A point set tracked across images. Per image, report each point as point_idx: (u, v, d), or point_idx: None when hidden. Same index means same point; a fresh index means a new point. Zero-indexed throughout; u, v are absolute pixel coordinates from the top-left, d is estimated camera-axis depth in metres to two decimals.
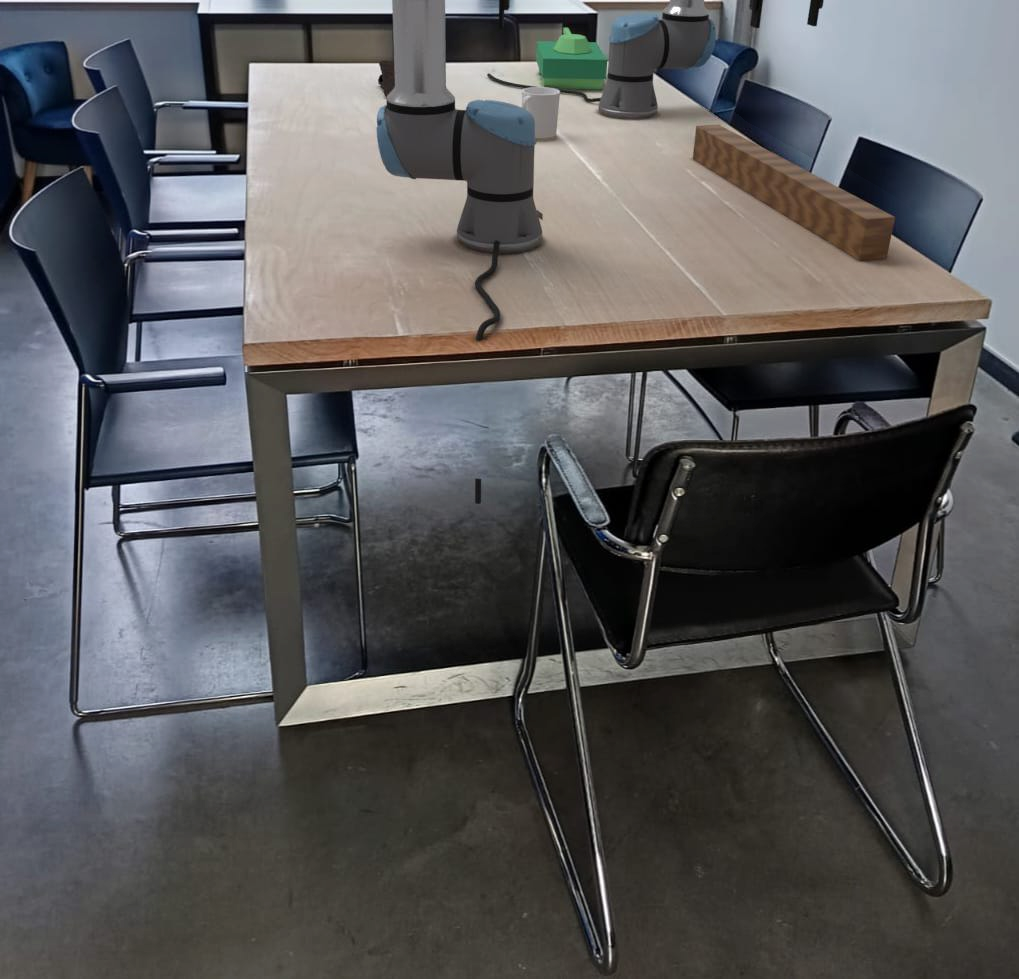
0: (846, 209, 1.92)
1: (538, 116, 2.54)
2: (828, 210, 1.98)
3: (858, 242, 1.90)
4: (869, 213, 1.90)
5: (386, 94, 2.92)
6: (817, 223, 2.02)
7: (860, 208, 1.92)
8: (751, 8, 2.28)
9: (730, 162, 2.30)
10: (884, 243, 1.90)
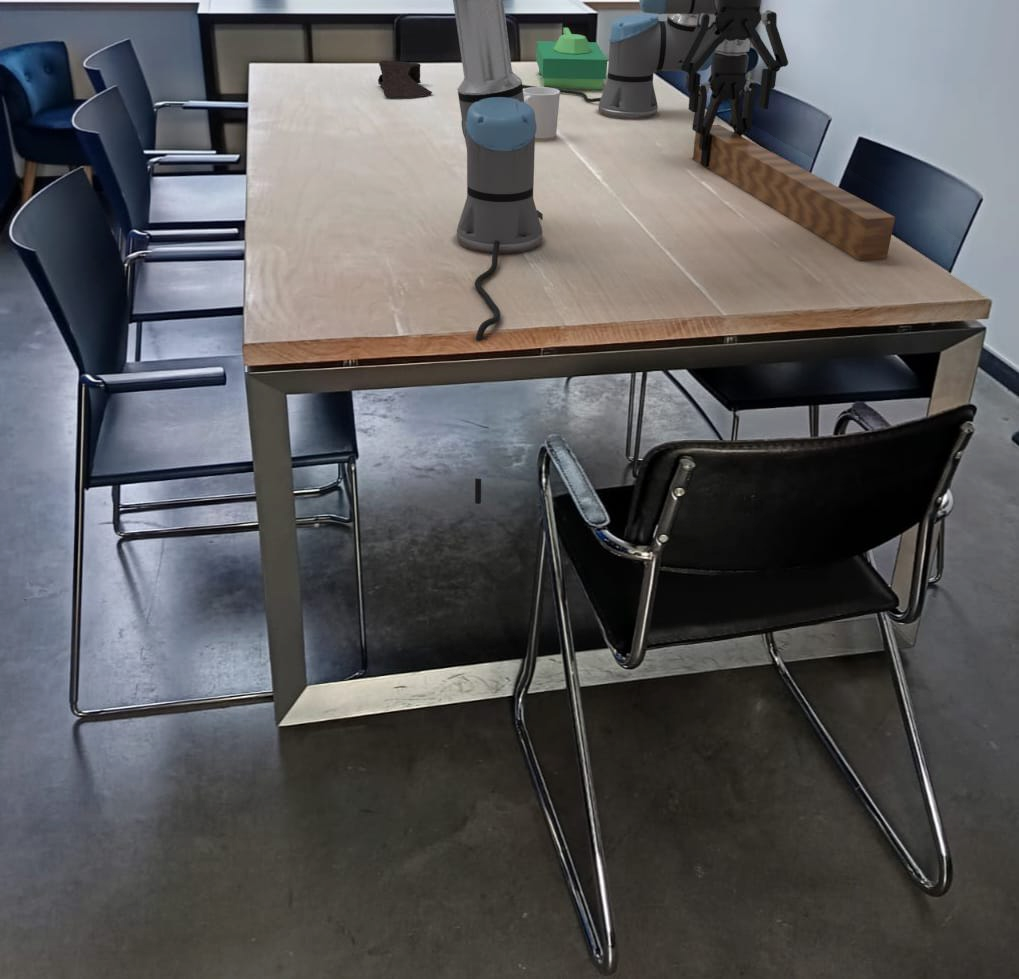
0: (846, 209, 1.92)
1: (538, 116, 2.54)
2: (828, 210, 1.98)
3: (858, 242, 1.90)
4: (869, 213, 1.90)
5: (386, 94, 2.92)
6: (817, 223, 2.02)
7: (860, 208, 1.92)
8: (700, 148, 2.37)
9: (730, 162, 2.30)
10: (884, 243, 1.90)
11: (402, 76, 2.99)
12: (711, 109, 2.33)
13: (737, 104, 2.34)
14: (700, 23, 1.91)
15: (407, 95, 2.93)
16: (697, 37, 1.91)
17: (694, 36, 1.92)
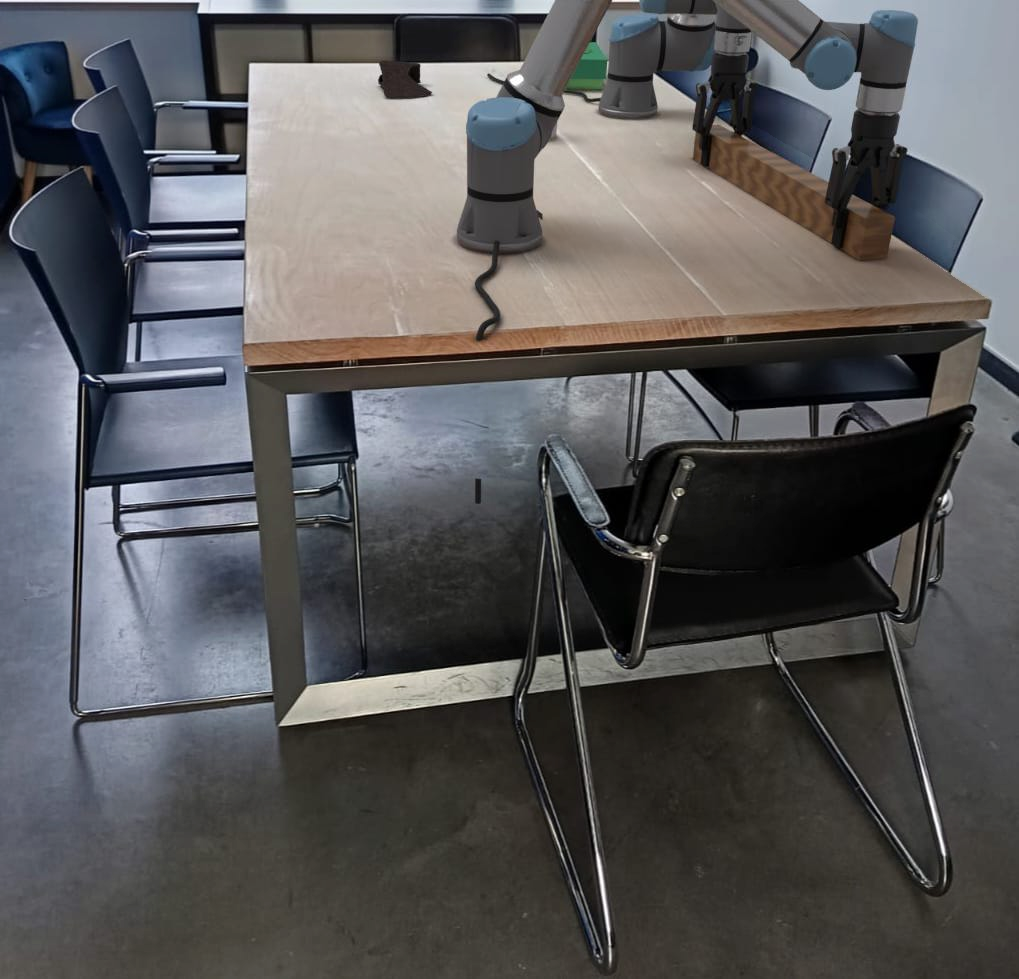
0: (846, 209, 1.92)
1: None
2: (828, 210, 1.98)
3: (858, 242, 1.90)
4: (869, 213, 1.90)
5: (386, 94, 2.92)
6: (817, 223, 2.02)
7: (860, 208, 1.92)
8: (700, 148, 2.37)
9: (730, 162, 2.30)
10: (884, 243, 1.90)
11: (402, 76, 2.99)
12: (711, 109, 2.33)
13: (737, 104, 2.34)
14: (837, 160, 1.87)
15: (407, 95, 2.93)
16: (839, 174, 1.87)
17: (835, 173, 1.88)
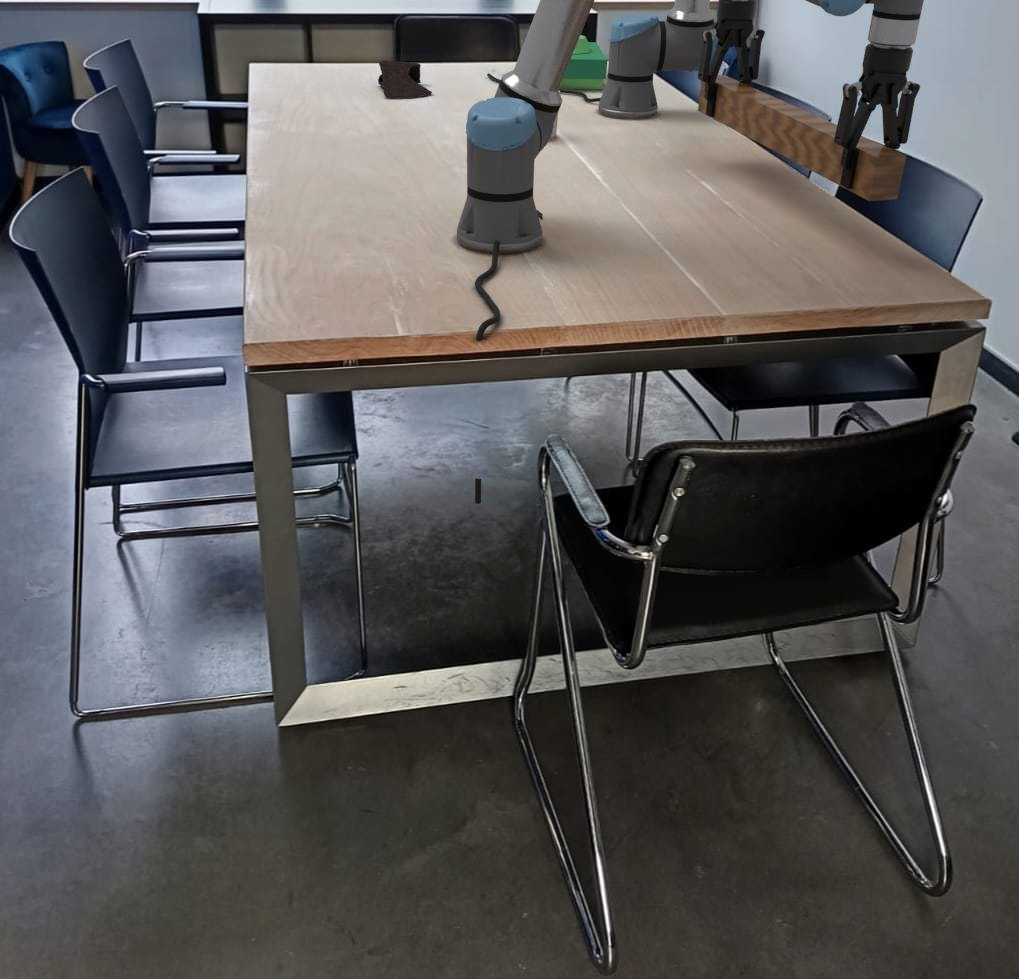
0: None
1: None
2: (837, 151, 1.92)
3: (868, 182, 1.85)
4: (879, 152, 1.84)
5: (386, 94, 2.92)
6: (825, 166, 1.96)
7: (870, 148, 1.87)
8: (706, 98, 2.32)
9: (736, 111, 2.24)
10: (895, 183, 1.85)
11: (402, 76, 2.99)
12: (717, 57, 2.28)
13: (744, 51, 2.28)
14: (848, 96, 1.81)
15: (407, 95, 2.93)
16: (850, 111, 1.82)
17: (845, 110, 1.83)
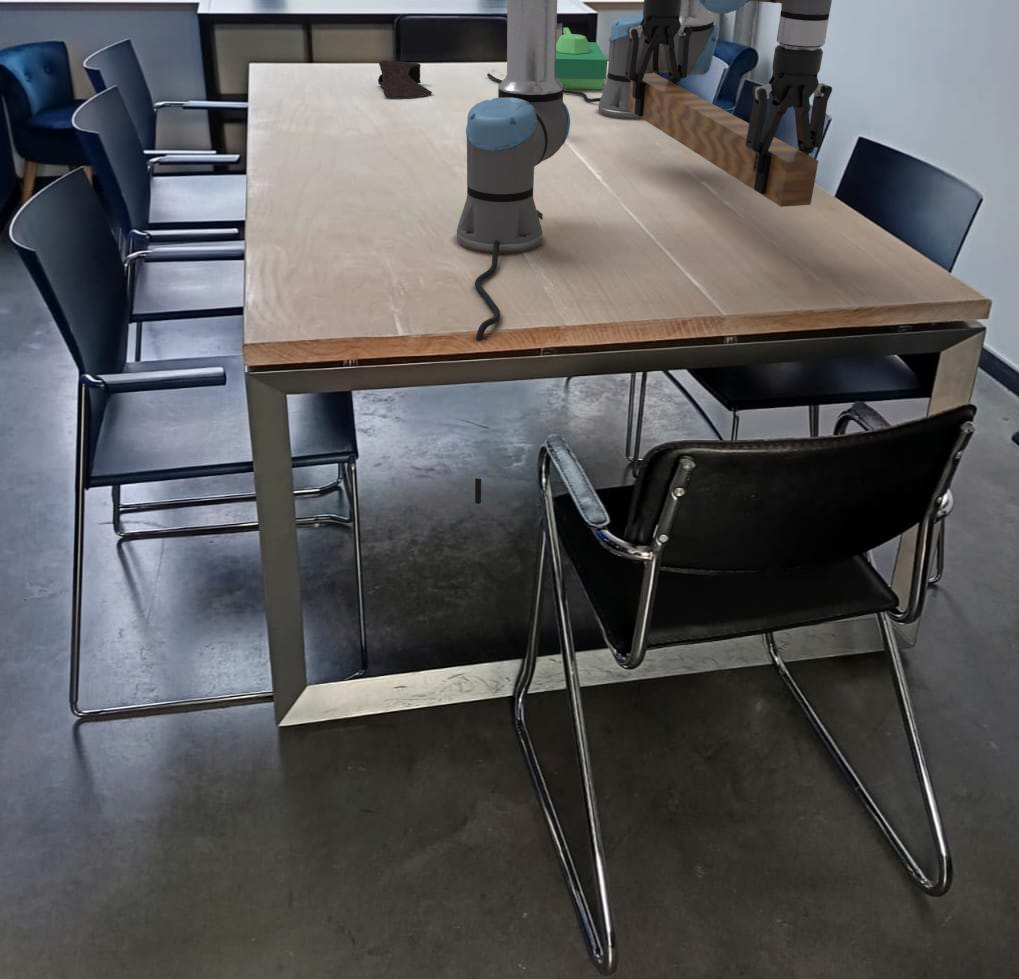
0: None
1: None
2: (751, 155, 1.87)
3: (780, 187, 1.80)
4: (792, 156, 1.79)
5: (386, 94, 2.92)
6: (741, 169, 1.91)
7: (784, 152, 1.82)
8: (634, 97, 2.27)
9: (661, 110, 2.19)
10: (807, 189, 1.80)
11: (402, 76, 2.99)
12: (644, 55, 2.23)
13: (671, 49, 2.23)
14: (757, 99, 1.76)
15: (407, 95, 2.93)
16: (760, 114, 1.77)
17: (756, 113, 1.77)
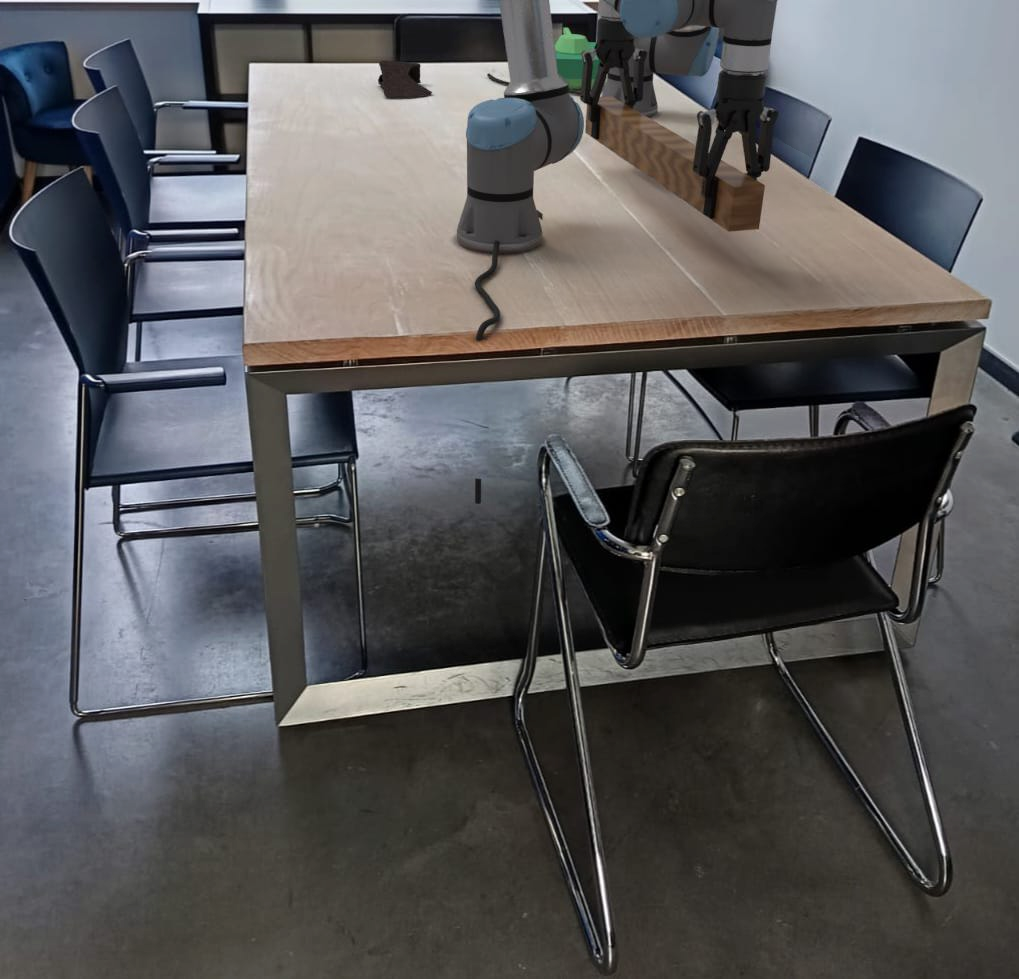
0: (716, 177, 1.81)
1: None
2: (700, 179, 1.86)
3: (727, 212, 1.79)
4: (739, 181, 1.78)
5: (386, 94, 2.92)
6: (691, 193, 1.90)
7: (731, 176, 1.81)
8: (589, 120, 2.26)
9: (616, 134, 2.18)
10: (755, 213, 1.79)
11: (402, 76, 2.99)
12: (598, 78, 2.22)
13: (626, 72, 2.22)
14: (702, 124, 1.75)
15: (407, 95, 2.93)
16: (705, 139, 1.76)
17: (701, 138, 1.77)
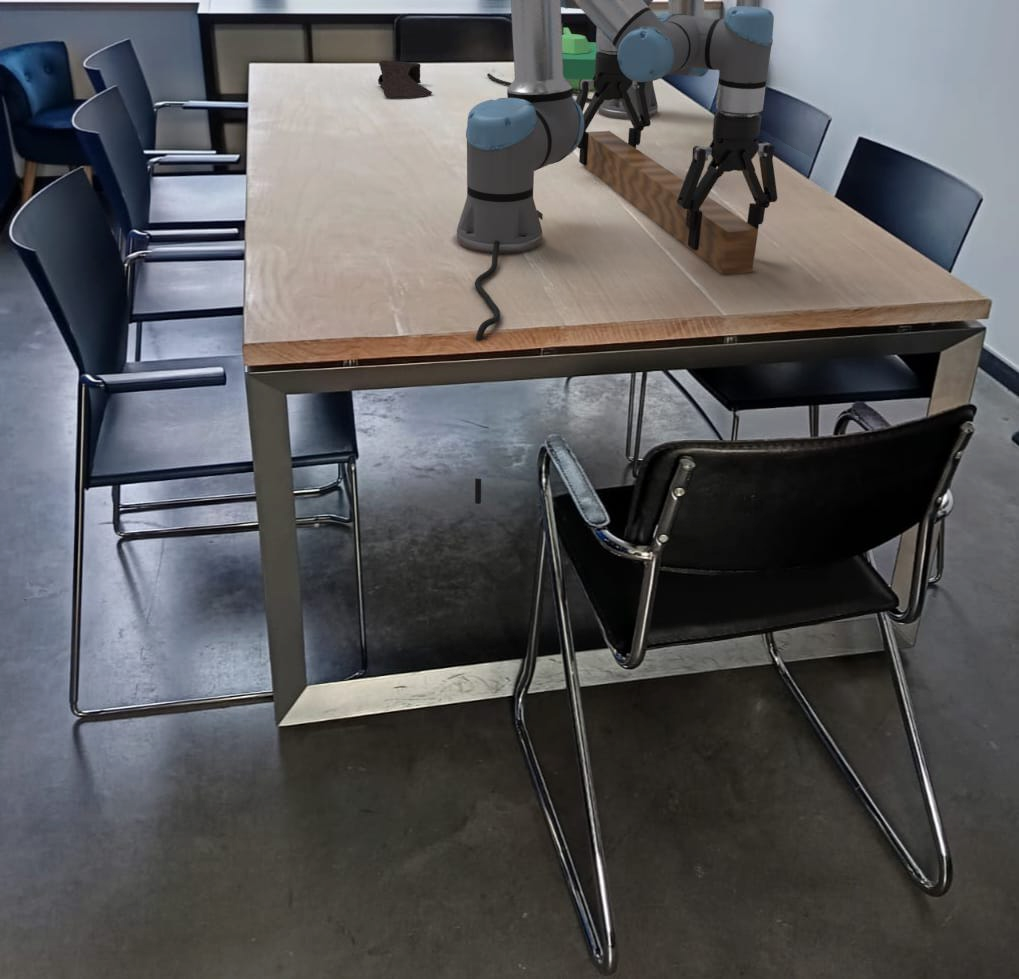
0: (710, 221, 1.85)
1: None
2: None
3: (721, 256, 1.83)
4: (732, 225, 1.82)
5: (386, 94, 2.92)
6: (686, 235, 1.94)
7: (725, 220, 1.85)
8: (577, 146, 2.28)
9: (613, 170, 2.22)
10: (748, 257, 1.83)
11: (402, 76, 2.99)
12: (591, 107, 2.25)
13: (628, 102, 2.26)
14: (696, 158, 1.78)
15: (407, 95, 2.93)
16: (696, 173, 1.78)
17: (692, 172, 1.79)
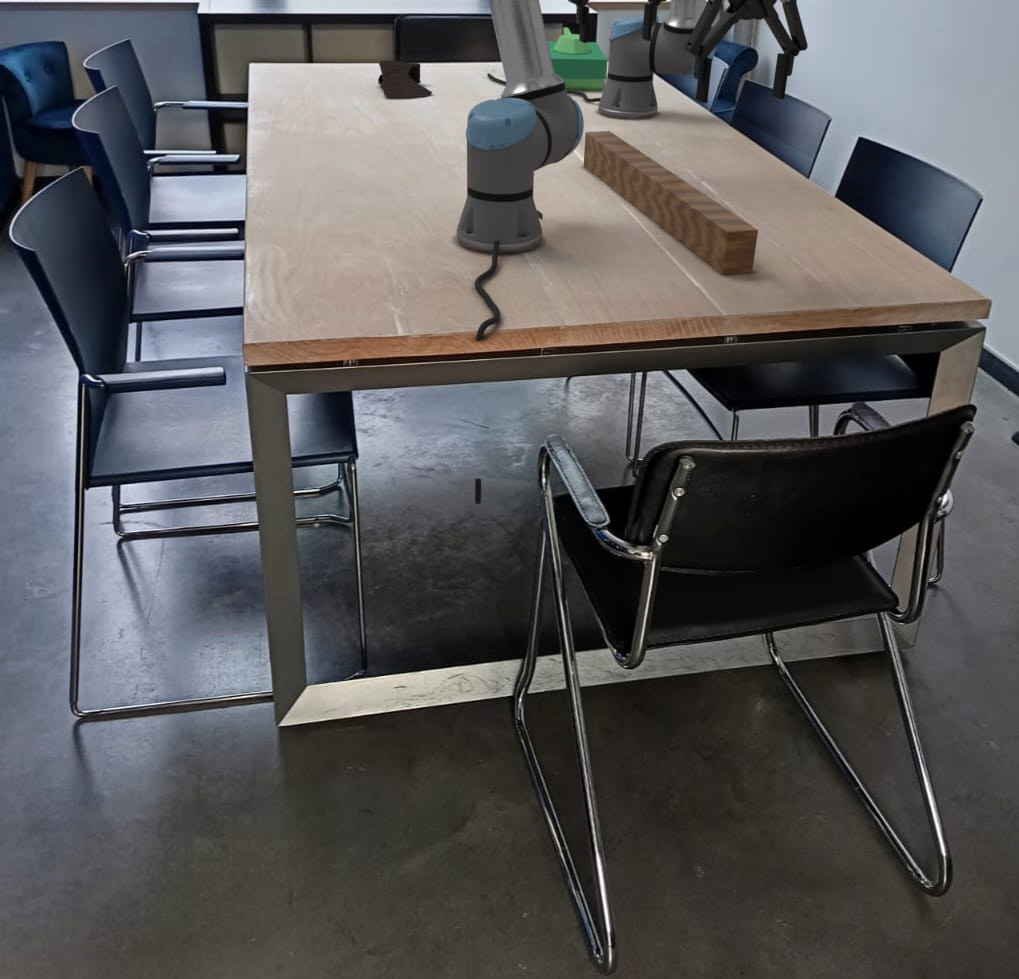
0: (710, 221, 1.85)
1: None
2: (695, 222, 1.90)
3: (721, 256, 1.83)
4: (732, 225, 1.82)
5: (386, 94, 2.92)
6: (686, 235, 1.94)
7: (725, 220, 1.85)
8: (577, 22, 2.15)
9: (613, 170, 2.22)
10: (748, 257, 1.83)
11: (402, 76, 2.99)
12: None
13: None
14: None
15: (407, 95, 2.93)
16: (710, 16, 1.66)
17: (706, 14, 1.66)
